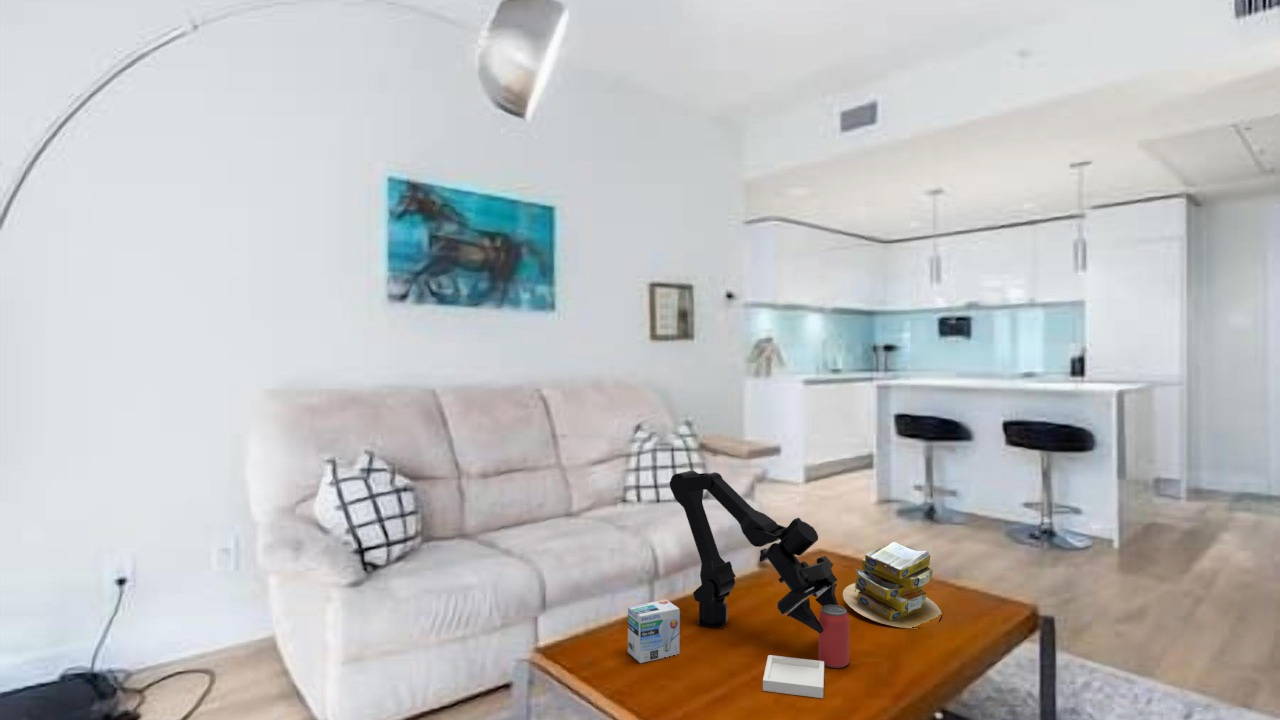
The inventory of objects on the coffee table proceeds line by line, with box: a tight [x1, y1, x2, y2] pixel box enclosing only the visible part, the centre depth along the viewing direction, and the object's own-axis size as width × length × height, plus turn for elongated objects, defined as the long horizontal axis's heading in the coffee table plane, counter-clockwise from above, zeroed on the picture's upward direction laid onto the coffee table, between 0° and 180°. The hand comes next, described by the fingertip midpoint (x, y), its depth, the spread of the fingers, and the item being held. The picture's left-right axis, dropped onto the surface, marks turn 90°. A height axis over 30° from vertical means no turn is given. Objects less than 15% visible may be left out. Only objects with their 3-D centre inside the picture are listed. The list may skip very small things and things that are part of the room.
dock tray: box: [762, 654, 825, 699], centre depth 148 cm, size 12×12×2 cm
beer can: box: [818, 604, 850, 669], centre depth 156 cm, size 7×7×12 cm
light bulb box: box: [627, 599, 681, 664], centre depth 161 cm, size 11×7×11 cm, turn 117°
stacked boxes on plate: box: [842, 541, 943, 629], centre depth 187 cm, size 25×25×17 cm
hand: (832, 625), depth 156 cm, fingers open, 9 cm apart
